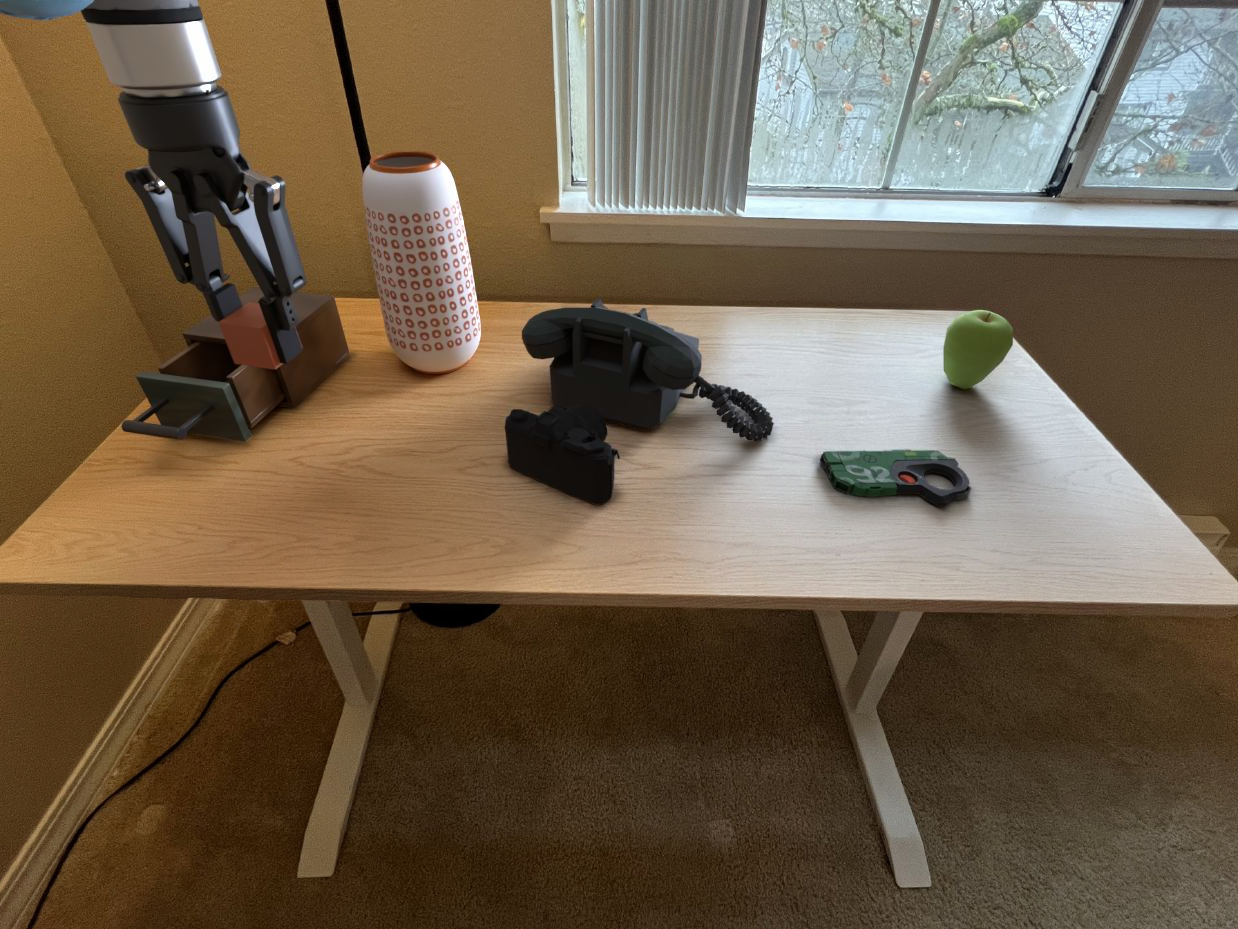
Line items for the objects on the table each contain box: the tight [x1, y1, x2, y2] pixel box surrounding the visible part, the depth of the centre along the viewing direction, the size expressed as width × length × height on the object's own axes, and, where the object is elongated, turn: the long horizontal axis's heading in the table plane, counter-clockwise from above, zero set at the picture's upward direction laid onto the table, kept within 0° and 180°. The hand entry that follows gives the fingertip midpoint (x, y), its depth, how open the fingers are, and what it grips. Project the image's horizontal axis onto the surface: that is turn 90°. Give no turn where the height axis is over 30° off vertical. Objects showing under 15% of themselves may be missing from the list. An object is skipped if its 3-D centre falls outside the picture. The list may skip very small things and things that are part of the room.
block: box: [218, 302, 302, 370], centre depth 63 cm, size 4×4×4 cm
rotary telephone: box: [521, 298, 775, 442], centre depth 86 cm, size 33×22×15 cm, turn 69°
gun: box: [819, 449, 972, 508], centre depth 77 cm, size 16×1×10 cm
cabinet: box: [181, 286, 351, 409], centre depth 89 cm, size 15×13×10 cm
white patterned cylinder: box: [361, 150, 482, 375], centre depth 88 cm, size 13×13×28 cm
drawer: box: [120, 341, 285, 443], centre depth 80 cm, size 20×11×8 cm, turn 169°
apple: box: [942, 309, 1014, 390], centre depth 91 cm, size 9×8×12 cm
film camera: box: [503, 404, 621, 505], centre depth 75 cm, size 15×10×9 cm, turn 58°
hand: (268, 352), depth 64 cm, fingers closed on block, 4 cm apart
